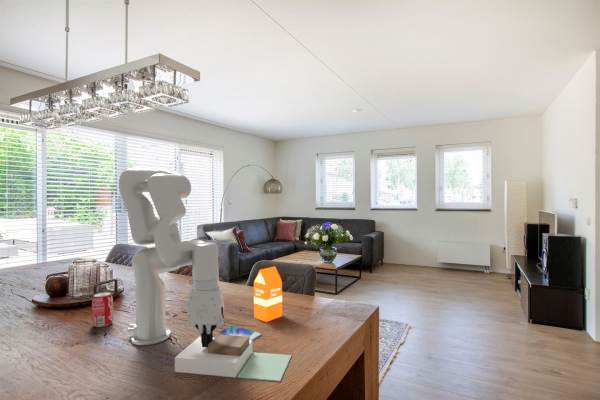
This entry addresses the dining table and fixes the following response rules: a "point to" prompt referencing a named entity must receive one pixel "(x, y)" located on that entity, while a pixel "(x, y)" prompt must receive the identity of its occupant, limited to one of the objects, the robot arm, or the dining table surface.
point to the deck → (210, 361)
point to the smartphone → (241, 332)
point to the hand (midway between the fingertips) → (207, 345)
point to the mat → (265, 367)
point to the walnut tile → (228, 345)
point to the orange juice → (268, 295)
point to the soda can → (102, 309)
